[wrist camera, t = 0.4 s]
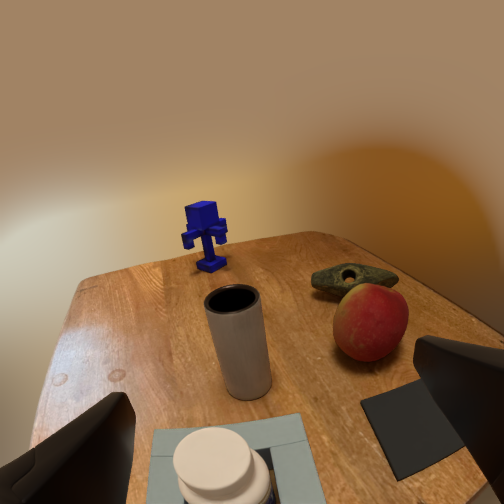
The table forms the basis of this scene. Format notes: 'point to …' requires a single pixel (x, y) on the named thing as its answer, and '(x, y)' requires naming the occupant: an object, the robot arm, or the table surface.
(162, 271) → the table surface
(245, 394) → the grey cylindrical tube
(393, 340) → the apple
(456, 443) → the mat
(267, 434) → the stand
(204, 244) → the figurine
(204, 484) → the pill bottle
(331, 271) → the decorative stone
